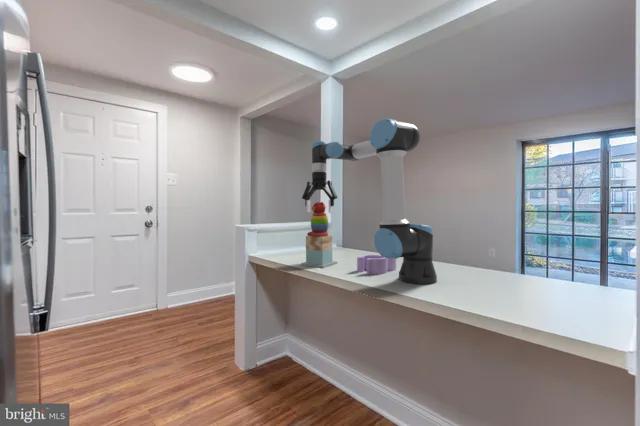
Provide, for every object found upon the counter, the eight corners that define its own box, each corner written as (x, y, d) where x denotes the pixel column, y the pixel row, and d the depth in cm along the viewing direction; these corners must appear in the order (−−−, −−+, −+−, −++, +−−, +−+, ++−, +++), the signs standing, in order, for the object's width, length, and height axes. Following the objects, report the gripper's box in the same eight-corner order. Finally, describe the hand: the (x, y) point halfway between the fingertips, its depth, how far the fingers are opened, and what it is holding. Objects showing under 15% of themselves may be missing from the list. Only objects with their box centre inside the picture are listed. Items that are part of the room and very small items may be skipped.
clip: (383, 266, 161) (383, 252, 161) (402, 270, 151) (402, 256, 151) (353, 271, 150) (353, 256, 150) (371, 275, 140) (371, 260, 140)
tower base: (337, 263, 169) (337, 248, 168) (323, 267, 157) (323, 251, 156) (315, 261, 176) (315, 246, 176) (300, 265, 164) (300, 249, 164)
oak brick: (332, 248, 168) (332, 235, 168) (322, 251, 159) (322, 237, 159) (316, 247, 173) (316, 234, 173) (305, 249, 164) (305, 236, 164)
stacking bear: (306, 235, 169) (306, 202, 168) (323, 234, 173) (323, 202, 173) (314, 237, 159) (314, 201, 159) (332, 236, 163) (332, 201, 163)
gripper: (343, 171, 162) (343, 212, 162) (303, 173, 175) (303, 212, 175) (336, 169, 155) (336, 213, 156) (295, 172, 168) (295, 212, 169)
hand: (319, 212), depth 166 cm, fingers open, 13 cm apart
